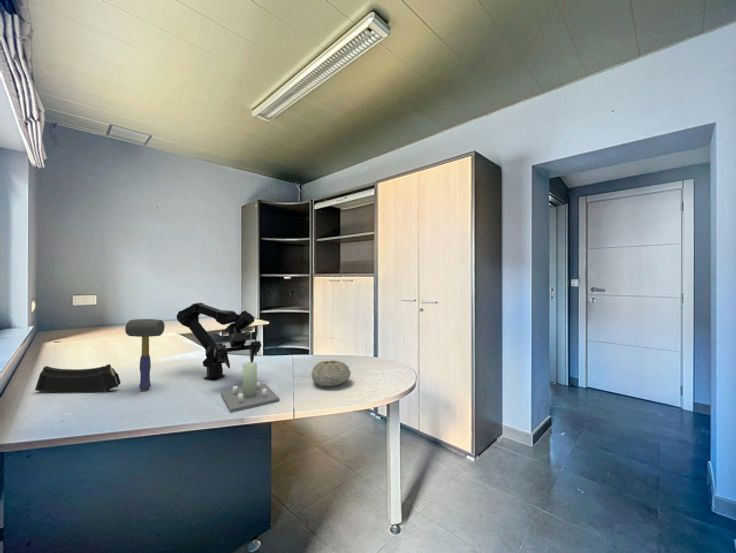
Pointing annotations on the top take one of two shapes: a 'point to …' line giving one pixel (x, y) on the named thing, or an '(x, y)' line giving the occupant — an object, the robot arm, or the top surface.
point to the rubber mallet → (145, 344)
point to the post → (249, 380)
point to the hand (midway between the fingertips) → (241, 366)
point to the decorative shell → (330, 373)
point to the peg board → (238, 402)
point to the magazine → (77, 380)
